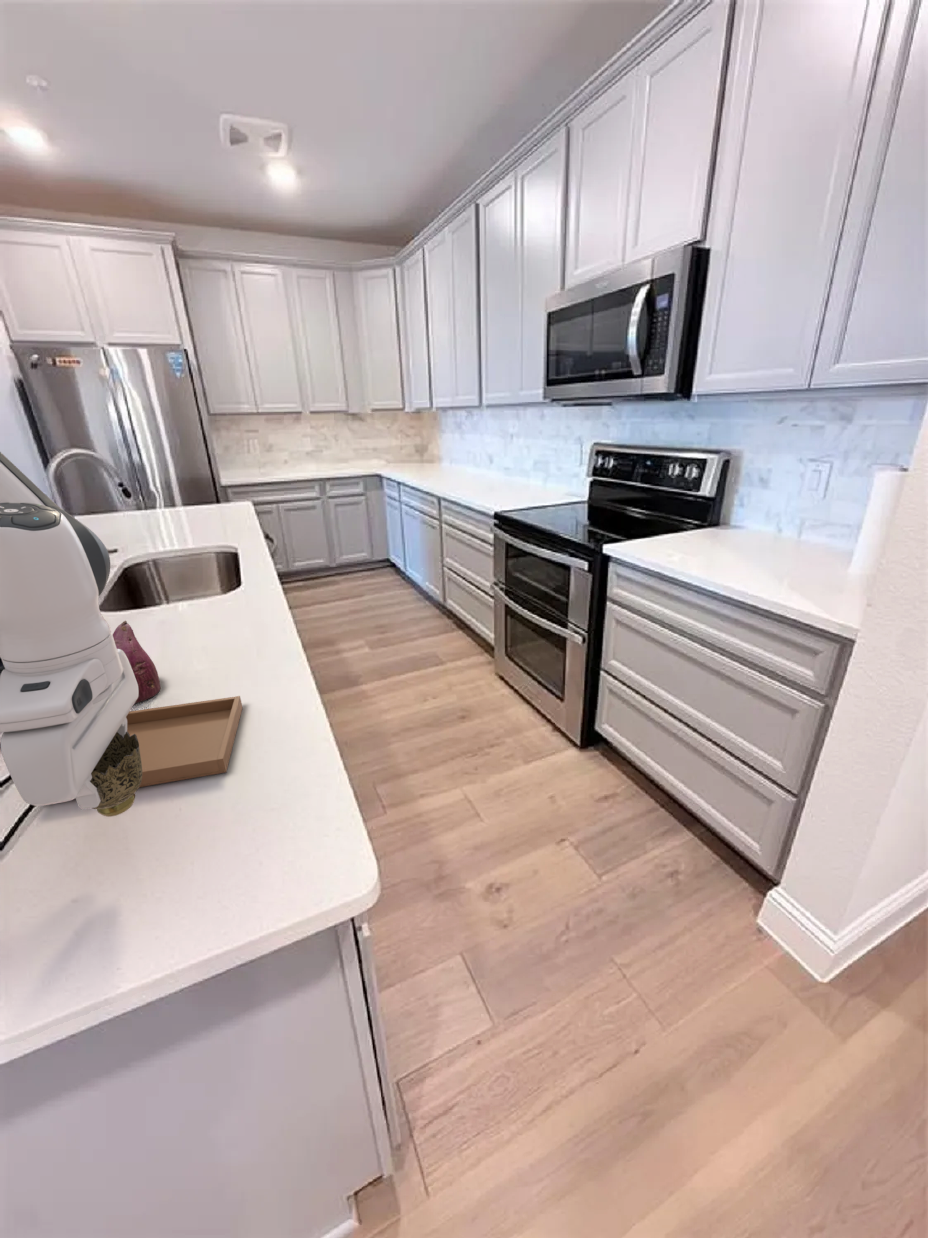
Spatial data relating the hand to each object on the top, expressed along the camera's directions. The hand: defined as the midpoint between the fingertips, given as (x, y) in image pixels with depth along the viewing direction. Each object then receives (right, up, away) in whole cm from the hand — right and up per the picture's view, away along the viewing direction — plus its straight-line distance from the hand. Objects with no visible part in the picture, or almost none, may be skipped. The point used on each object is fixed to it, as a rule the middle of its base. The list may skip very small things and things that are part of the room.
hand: (107, 778), depth 56 cm
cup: (0, -4, +2) cm, 4 cm away
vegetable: (-22, +4, +37) cm, 43 cm away
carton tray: (-7, -2, +21) cm, 22 cm away
